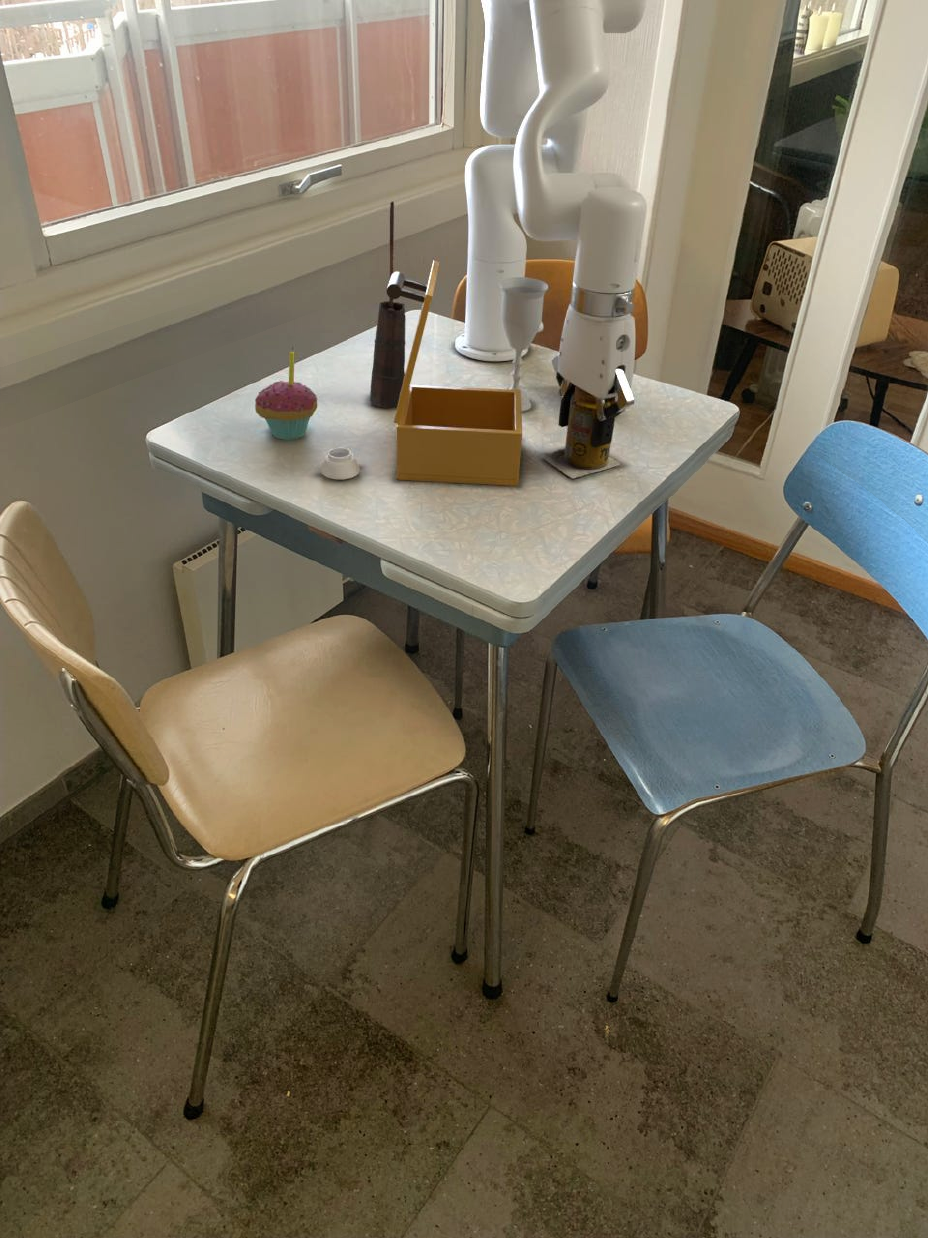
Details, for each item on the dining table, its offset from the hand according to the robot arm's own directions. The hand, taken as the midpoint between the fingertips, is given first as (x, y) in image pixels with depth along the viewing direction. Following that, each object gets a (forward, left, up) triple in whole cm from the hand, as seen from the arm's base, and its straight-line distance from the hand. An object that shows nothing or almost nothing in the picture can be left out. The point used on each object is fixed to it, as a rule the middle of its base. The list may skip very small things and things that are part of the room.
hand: (584, 433), depth 123 cm
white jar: (+30, -13, -4) cm, 33 cm away
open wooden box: (+14, -9, -4) cm, 17 cm away
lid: (+19, -12, +12) cm, 25 cm away
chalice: (-3, -20, -4) cm, 21 cm away
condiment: (0, 0, -4) cm, 4 cm away
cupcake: (+31, -27, -4) cm, 41 cm away
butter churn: (+14, -29, -4) cm, 32 cm away
